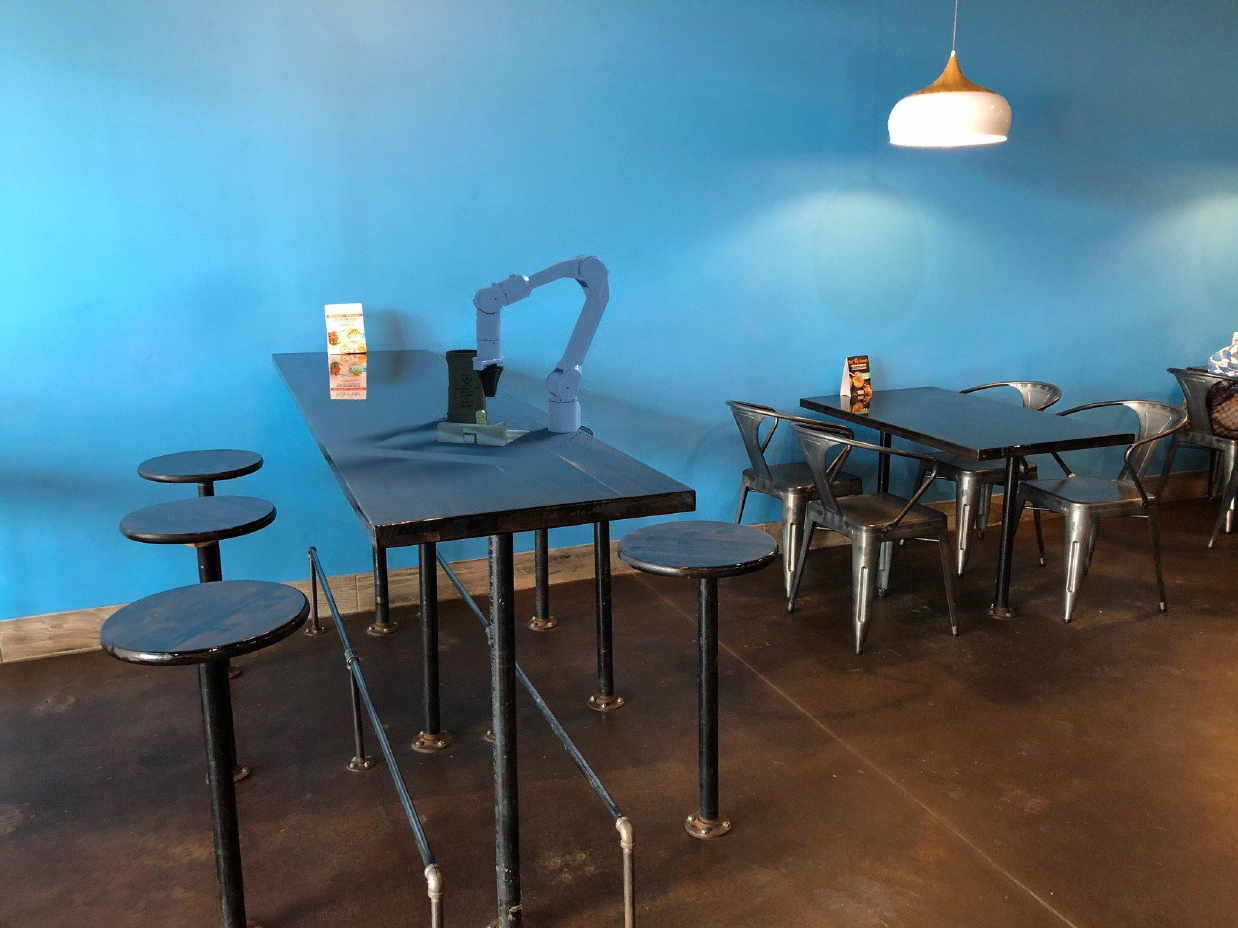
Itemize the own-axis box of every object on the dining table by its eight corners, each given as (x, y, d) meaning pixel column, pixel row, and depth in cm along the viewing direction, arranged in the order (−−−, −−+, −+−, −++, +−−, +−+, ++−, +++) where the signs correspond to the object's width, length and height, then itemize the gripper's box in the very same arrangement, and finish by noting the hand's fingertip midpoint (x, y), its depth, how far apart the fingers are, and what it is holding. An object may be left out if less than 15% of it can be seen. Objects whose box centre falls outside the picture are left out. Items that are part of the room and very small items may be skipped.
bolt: (478, 435, 223) (477, 408, 222) (488, 436, 223) (487, 409, 221) (464, 442, 216) (463, 414, 214) (474, 443, 215) (473, 415, 214)
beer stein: (493, 430, 239) (491, 350, 236) (451, 432, 235) (448, 351, 232) (479, 423, 253) (477, 348, 250) (439, 425, 249) (436, 349, 246)
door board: (469, 433, 235) (468, 411, 234) (530, 437, 231) (530, 414, 230) (438, 447, 218) (437, 424, 217) (503, 452, 214) (502, 428, 213)
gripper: (484, 336, 230) (486, 391, 233) (460, 341, 216) (462, 400, 219) (512, 337, 228) (513, 392, 231) (489, 343, 215) (490, 402, 218)
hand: (490, 396), depth 225 cm, fingers closed
